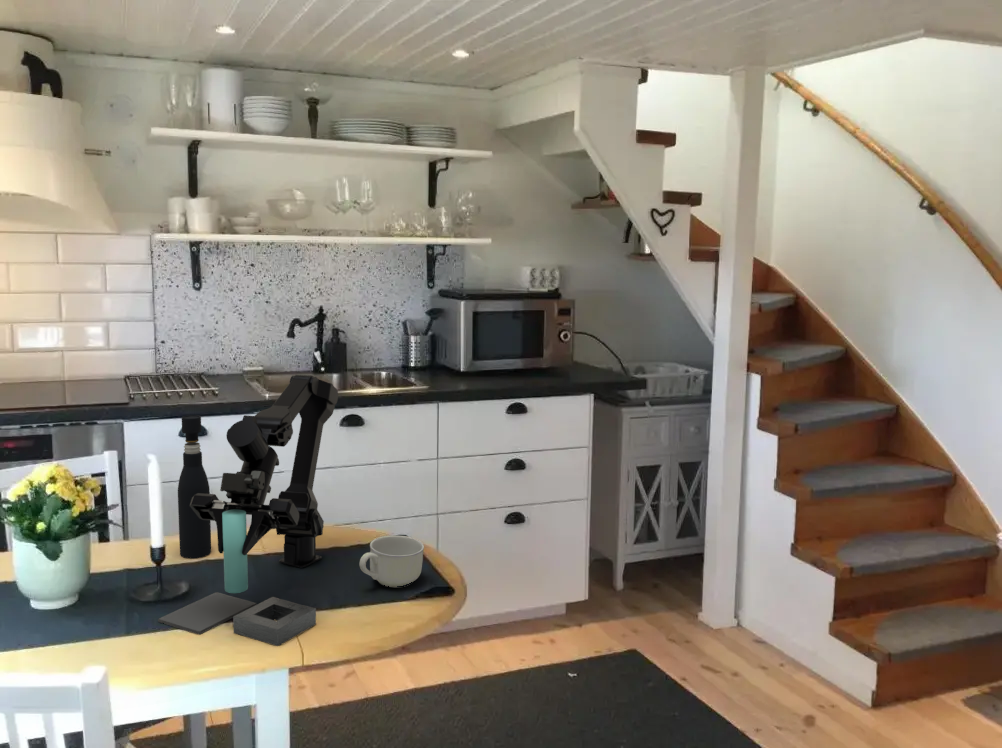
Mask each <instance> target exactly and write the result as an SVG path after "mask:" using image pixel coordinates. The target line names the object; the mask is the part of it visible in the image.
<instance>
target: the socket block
mask: <svg viewBox="0 0 1002 748" xmlns="http://www.w3.org/2000/svg"><path fill="white" fill-rule="evenodd" d="M232 619H233V621H232V623H233V628H232V629H233V631H232V632H233V634H236V635H239V636H243V637H246V638H249V639H253V640H256V641H259V642H263V643H266V644H269V645H273V646H277V647H279V646H280V645H283V644H284V643H286V642H288V641H289V640H291V639H293V638H295V637H296V636H298V635H300V634H302V633H303V632H305V631H307V630H308V629H310V628H312V627H314V626H316V625H317V608H316V607H312V606H308V605H305V604H301V603H297V602H293V601H289V600H286V599H282V598H278V597H276V596H270V597H269V598H267V599H265V600H263V601H261V602H260V603H258V604H257V603H256V605H255V606H253V607H251V608H249V609H247V610H245V611H243V612H241V613H239V614H237V615H235V616H233V618H232Z"/></svg>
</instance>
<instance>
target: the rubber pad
mask: <svg viewBox="0 0 1002 748" xmlns="http://www.w3.org/2000/svg"><path fill="white" fill-rule="evenodd" d="M255 605H257V602H254V601H250V600H247V599H243V598H239V597H236V596H231V595H228V594H225V593H222V592H217V591H215V592H214V593H211V594H209V595H206V596H205V597H203V598H200V599H198V600H197V601H194V602H192V603H189V604H188V605H184V607H180V608H179V609H176V610H175V611H172V612H170V613H168V614H166V615H163V616H161V617H160V618H157V621H158V623H160V624H163V623H164V625H167V626H170V627H174V628H176V629H180V630H184V631H186V632H189V633H193V634H196V635H201V634H203V633H205V632H208V631H210V630H212V629H214V628H217V626H220V625H222V624H224V623H225V622H227V621H229V620H231V619H233V616H235V615H237V614H239V613H241V612H243V611H245V610H247V609H249V608H251V607H253V606H255Z"/></svg>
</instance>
